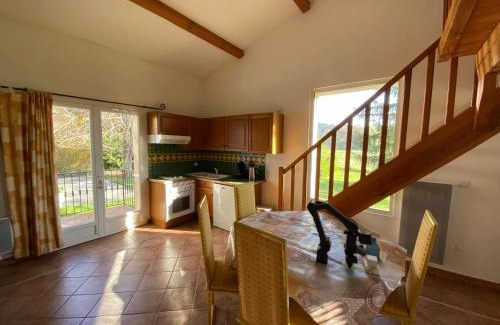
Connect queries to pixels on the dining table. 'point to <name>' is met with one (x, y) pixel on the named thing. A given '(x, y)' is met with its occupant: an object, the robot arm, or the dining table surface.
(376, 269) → the beech slab
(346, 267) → the sage cube
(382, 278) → the dining table surface
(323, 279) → the dining table surface
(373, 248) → the perfume bottle
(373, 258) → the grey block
